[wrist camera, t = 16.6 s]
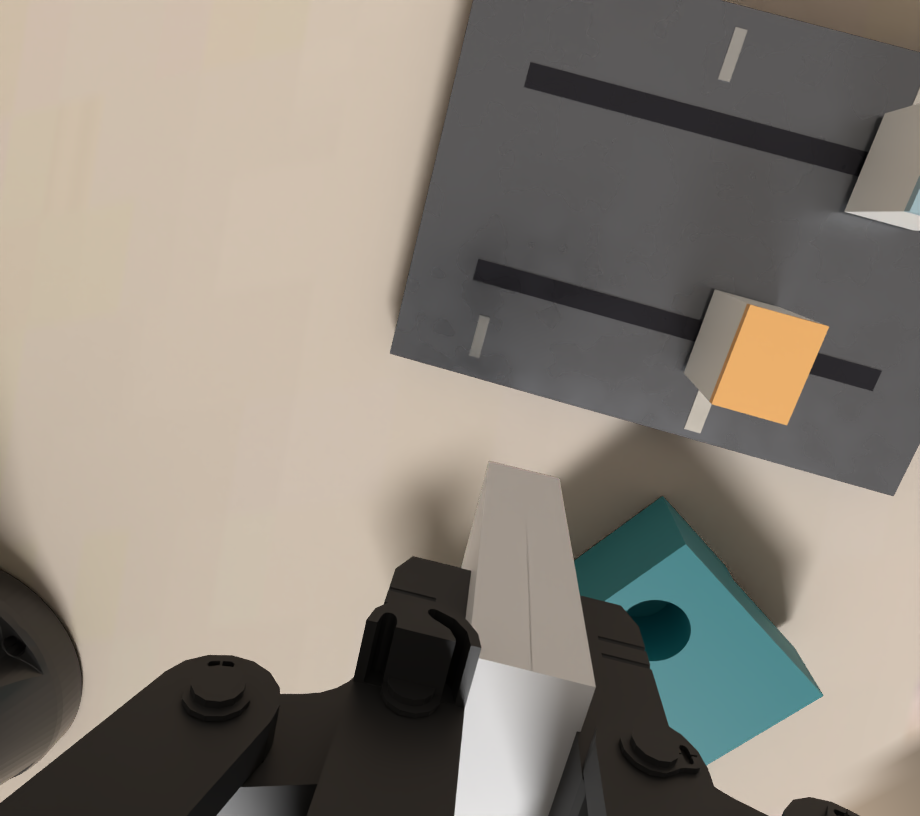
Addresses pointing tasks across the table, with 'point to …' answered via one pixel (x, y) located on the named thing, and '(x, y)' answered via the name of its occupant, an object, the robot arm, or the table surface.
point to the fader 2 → (891, 172)
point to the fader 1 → (753, 356)
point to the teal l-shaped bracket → (697, 632)
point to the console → (670, 220)
